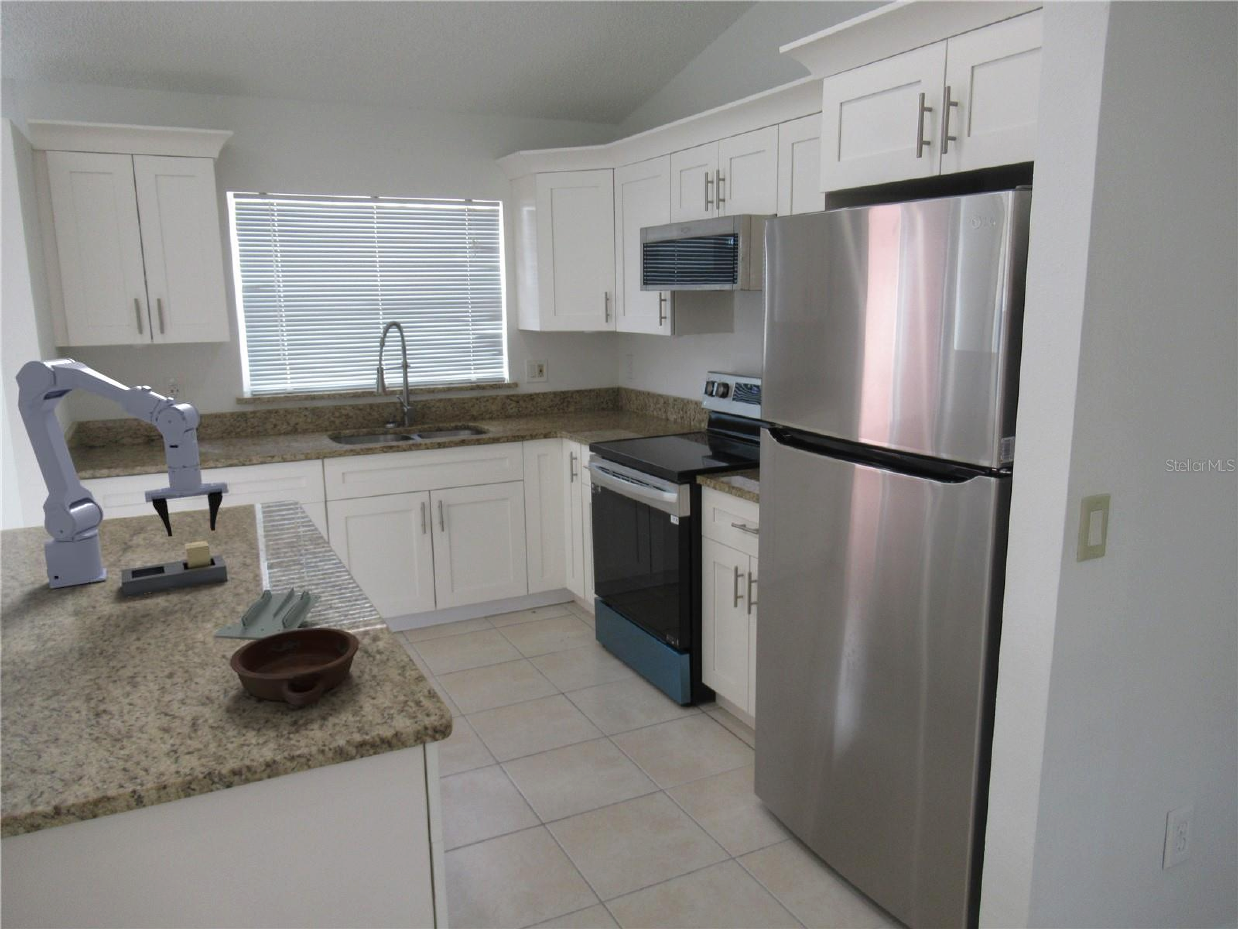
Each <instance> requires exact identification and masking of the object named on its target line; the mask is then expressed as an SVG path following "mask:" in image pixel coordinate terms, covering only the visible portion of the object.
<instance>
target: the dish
mask: <svg viewBox="0 0 1238 929" xmlns="http://www.w3.org/2000/svg"><path fill="white" fill-rule="evenodd" d="M359 644H360V642H359V638H358V637H357V636H356V635H354V634H352V633H351V632H349V631H346V630H344V629H343V630H342V629H341V628H332V627H310V628H308V627H307V628H301V629H298V630H292V631H287V632H282V633H278V634H274V635H270V636H267V637H264V638H260V639H254V640H253V641H250V642H248V643H246V644H245V645H243V646H242V647H240V648H239V649H237V650H235V652H234V653H233V654H232V655H231V658H230V661H229V664H230V665H229V666H230V668H231V669H232V670H233V672H235V673H236V674H237V676H238V679H239V680H240V684H241V685H242V687H243V688H244V689H245V691H246V692H247V693H249V694H252V695H253V696H255V697H258V698H260V699H264V700H269V701H280V702H281V701H285V702H288V703H289V704H290V705H293V706H295V707H296V706H299V707H301V706H302V707H303V706H306V705H309V704H312V703H314V702H316V701H317V700H318V699H320V698H321V696H322V693H325V692H326V691H329V690H331V689H333V688H335V687H337V686H338V685H339V684H340V683H342V682H343V681H344V679H345V678H346V677H347V676H348V674H349V672H350V671H351V667H352V665H353V661H354V657H355V656H356V654H357V652H358V650H359Z"/></svg>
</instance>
